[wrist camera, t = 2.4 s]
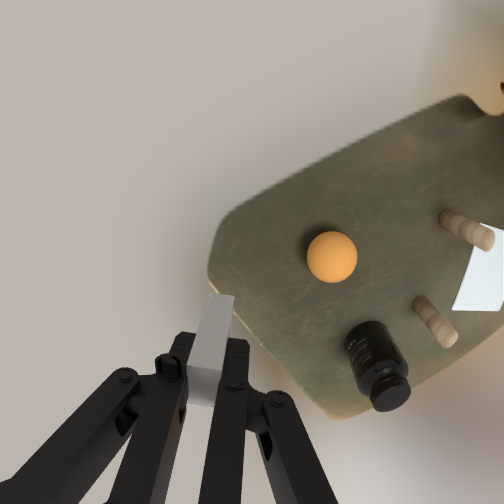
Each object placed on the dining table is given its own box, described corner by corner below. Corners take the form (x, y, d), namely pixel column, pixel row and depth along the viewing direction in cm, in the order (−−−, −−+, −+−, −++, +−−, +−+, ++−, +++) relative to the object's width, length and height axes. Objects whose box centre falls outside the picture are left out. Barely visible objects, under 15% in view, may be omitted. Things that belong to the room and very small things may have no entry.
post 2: (454, 211, 30) (497, 231, 21) (450, 229, 31) (491, 253, 22) (441, 207, 30) (484, 227, 21) (437, 226, 31) (478, 250, 22)
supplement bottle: (395, 325, 36) (430, 382, 25) (372, 360, 38) (396, 419, 27) (358, 314, 35) (388, 376, 24) (335, 352, 38) (353, 416, 26)
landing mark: (523, 237, 30) (524, 237, 30) (498, 310, 35) (499, 310, 35) (479, 222, 30) (480, 223, 30) (450, 309, 35) (451, 310, 35)
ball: (353, 229, 31) (369, 244, 26) (343, 272, 33) (356, 293, 28) (308, 222, 31) (317, 236, 26) (299, 267, 33) (306, 289, 28)
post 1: (429, 296, 34) (460, 331, 26) (423, 311, 35) (452, 347, 26) (416, 295, 34) (447, 331, 26) (410, 310, 35) (438, 348, 26)
